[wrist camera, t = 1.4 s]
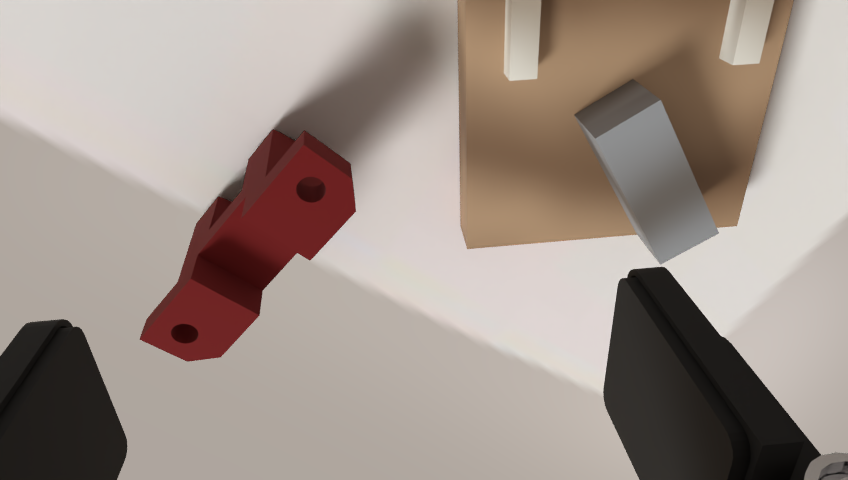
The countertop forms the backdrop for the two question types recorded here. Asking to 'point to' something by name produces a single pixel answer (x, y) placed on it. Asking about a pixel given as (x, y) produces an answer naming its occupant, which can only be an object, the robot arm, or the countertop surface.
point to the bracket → (252, 244)
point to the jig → (611, 117)
